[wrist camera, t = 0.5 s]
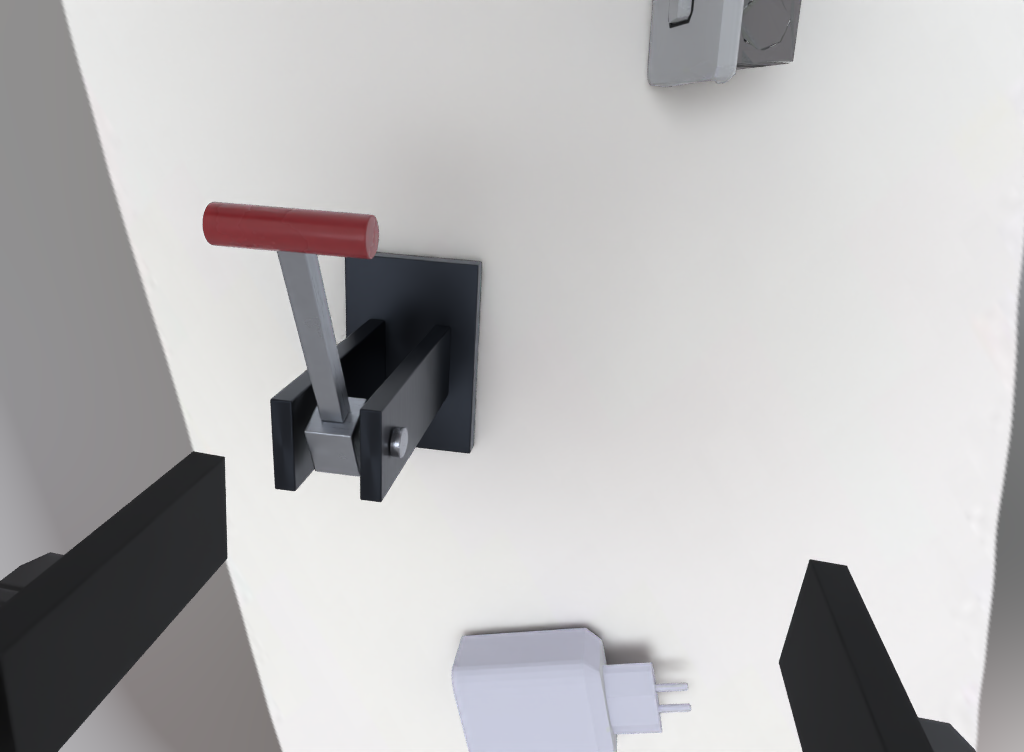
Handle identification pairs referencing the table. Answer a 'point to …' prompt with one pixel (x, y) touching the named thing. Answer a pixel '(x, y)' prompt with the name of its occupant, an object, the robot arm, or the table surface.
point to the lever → (308, 306)
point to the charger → (552, 693)
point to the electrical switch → (718, 38)
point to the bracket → (395, 368)
